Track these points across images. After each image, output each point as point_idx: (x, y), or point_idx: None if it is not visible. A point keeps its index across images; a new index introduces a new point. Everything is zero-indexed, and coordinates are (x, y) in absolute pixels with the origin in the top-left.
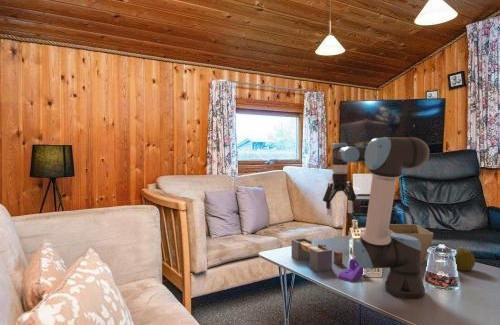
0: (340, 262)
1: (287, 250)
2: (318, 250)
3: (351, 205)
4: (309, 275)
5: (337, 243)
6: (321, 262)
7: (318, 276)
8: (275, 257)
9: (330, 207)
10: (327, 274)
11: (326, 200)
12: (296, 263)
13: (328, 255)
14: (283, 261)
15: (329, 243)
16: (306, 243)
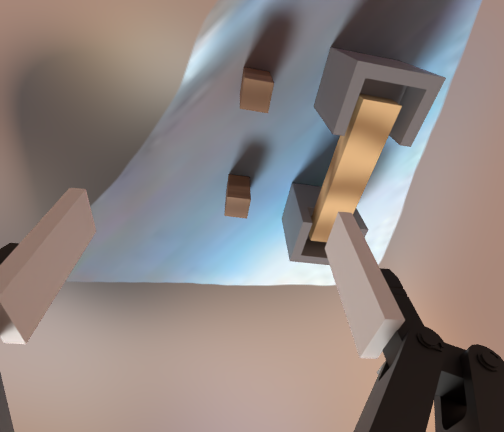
0: (254, 70)
1: (294, 267)
2: (379, 119)
3: (35, 245)
4: (456, 49)
5: (93, 243)
6: (397, 63)
7: (445, 15)
8: (373, 242)
9: (379, 273)
10: (399, 7)
11: (499, 363)
12: (374, 172)
13: (370, 60)
14: (387, 206)
15: (121, 255)
16: (328, 218)
